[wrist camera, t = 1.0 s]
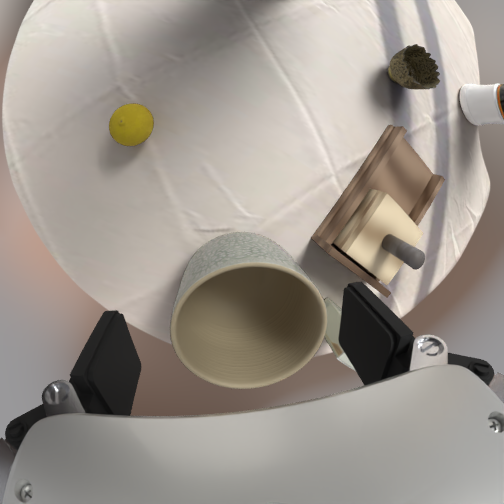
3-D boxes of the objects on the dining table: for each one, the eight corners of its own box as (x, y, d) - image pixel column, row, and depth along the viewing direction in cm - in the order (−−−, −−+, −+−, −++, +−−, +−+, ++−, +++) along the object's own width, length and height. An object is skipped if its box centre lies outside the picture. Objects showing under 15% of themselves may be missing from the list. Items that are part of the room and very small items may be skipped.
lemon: (144, 101, 31) (126, 88, 24) (166, 128, 33) (154, 121, 26) (114, 127, 32) (91, 122, 24) (136, 154, 34) (117, 155, 26)
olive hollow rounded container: (400, 54, 32) (428, 43, 24) (416, 91, 35) (446, 86, 27) (370, 57, 32) (397, 44, 25) (387, 97, 35) (417, 91, 27)
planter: (169, 302, 42) (153, 368, 28) (206, 203, 38) (202, 234, 23) (264, 332, 46) (283, 398, 32) (310, 246, 42) (355, 293, 28)
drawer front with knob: (365, 186, 38) (420, 203, 26) (401, 223, 41) (453, 248, 29) (328, 239, 40) (371, 274, 28) (368, 270, 43) (412, 308, 31)
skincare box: (309, 313, 46) (334, 358, 35) (326, 295, 45) (357, 337, 34) (330, 329, 48) (357, 373, 37) (346, 313, 47) (378, 354, 36)
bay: (388, 125, 36) (415, 123, 30) (433, 178, 41) (459, 184, 34) (311, 238, 41) (328, 253, 35) (367, 279, 45) (387, 297, 39)
